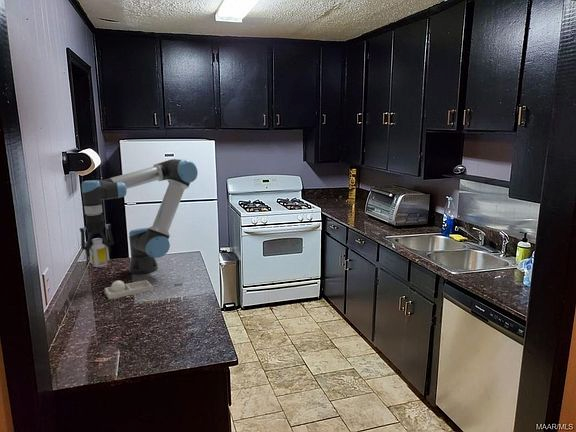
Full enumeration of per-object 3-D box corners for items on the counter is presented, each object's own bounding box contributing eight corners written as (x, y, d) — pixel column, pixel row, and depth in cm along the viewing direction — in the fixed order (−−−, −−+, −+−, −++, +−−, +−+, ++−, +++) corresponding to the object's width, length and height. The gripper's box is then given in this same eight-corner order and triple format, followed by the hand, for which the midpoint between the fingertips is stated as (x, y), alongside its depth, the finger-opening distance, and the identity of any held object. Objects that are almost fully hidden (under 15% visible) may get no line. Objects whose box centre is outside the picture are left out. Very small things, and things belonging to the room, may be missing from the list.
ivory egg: (110, 292, 197) (109, 280, 196) (124, 289, 201) (122, 277, 199) (113, 296, 192) (112, 284, 191) (127, 293, 196) (126, 281, 194)
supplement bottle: (110, 263, 204) (107, 237, 202) (103, 267, 198) (100, 241, 195) (97, 262, 205) (94, 237, 202) (89, 267, 199) (86, 241, 196)
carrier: (109, 301, 189) (108, 295, 189) (104, 293, 198) (103, 287, 198) (154, 291, 200) (153, 285, 200) (147, 285, 209) (147, 279, 209)
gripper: (71, 218, 188) (78, 267, 193) (117, 212, 198) (123, 259, 203) (69, 215, 194) (75, 263, 199) (114, 210, 205) (119, 255, 209)
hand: (99, 261), depth 201 cm, fingers closed on supplement bottle, 7 cm apart
